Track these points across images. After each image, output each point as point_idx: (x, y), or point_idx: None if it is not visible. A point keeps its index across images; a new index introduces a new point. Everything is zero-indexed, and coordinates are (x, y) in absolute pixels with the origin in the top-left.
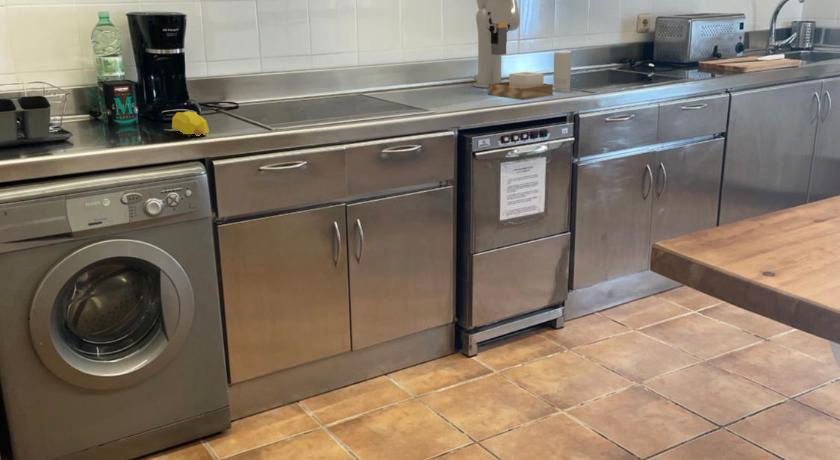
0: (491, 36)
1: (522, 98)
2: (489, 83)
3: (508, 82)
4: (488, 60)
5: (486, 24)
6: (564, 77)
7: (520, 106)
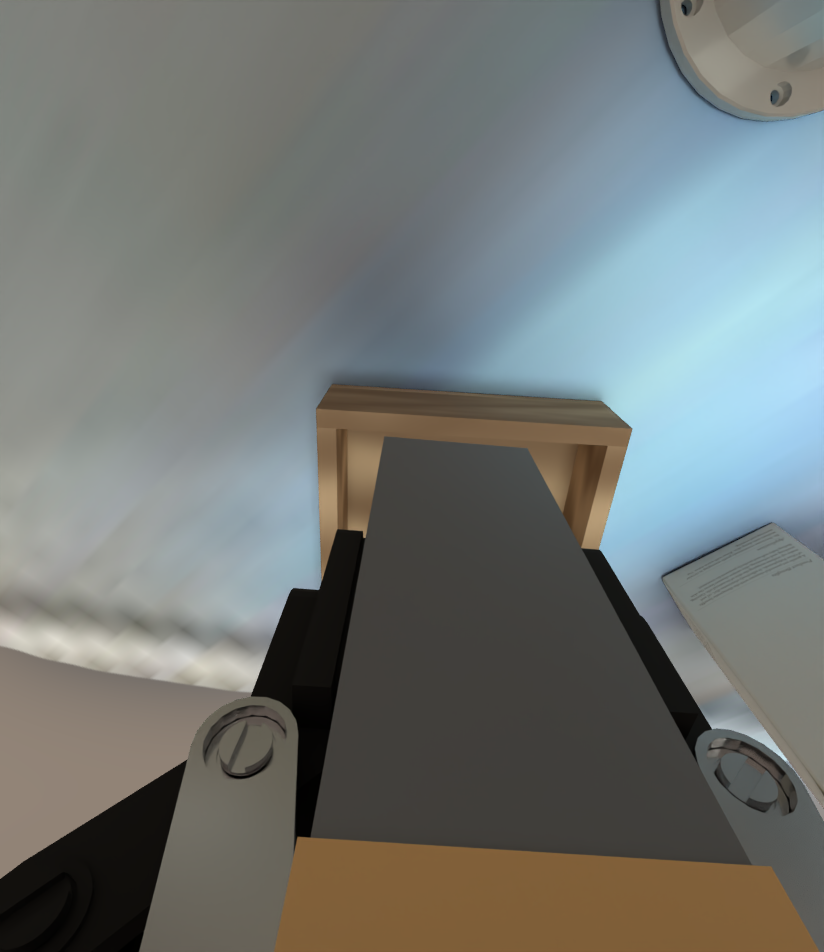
0: (270, 663)
1: None
2: (730, 18)
3: (504, 437)
4: None
5: None
6: (728, 679)
7: (226, 678)
